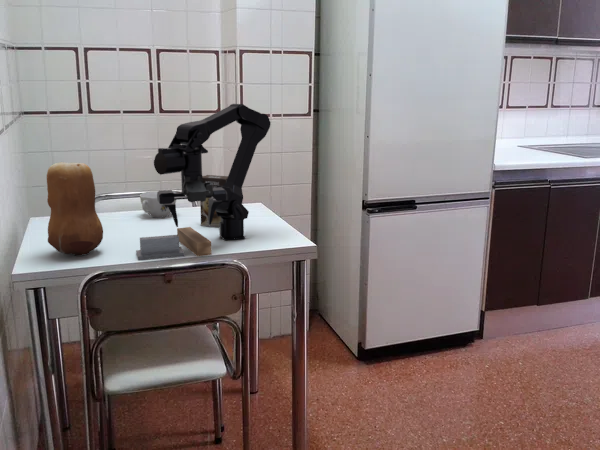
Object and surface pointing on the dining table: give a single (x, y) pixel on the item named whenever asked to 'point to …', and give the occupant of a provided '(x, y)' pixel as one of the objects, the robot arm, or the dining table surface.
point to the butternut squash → (72, 209)
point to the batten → (194, 241)
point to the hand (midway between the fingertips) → (193, 225)
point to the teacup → (153, 205)
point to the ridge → (159, 247)
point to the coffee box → (205, 204)
